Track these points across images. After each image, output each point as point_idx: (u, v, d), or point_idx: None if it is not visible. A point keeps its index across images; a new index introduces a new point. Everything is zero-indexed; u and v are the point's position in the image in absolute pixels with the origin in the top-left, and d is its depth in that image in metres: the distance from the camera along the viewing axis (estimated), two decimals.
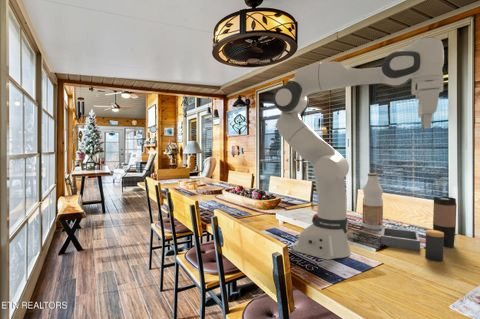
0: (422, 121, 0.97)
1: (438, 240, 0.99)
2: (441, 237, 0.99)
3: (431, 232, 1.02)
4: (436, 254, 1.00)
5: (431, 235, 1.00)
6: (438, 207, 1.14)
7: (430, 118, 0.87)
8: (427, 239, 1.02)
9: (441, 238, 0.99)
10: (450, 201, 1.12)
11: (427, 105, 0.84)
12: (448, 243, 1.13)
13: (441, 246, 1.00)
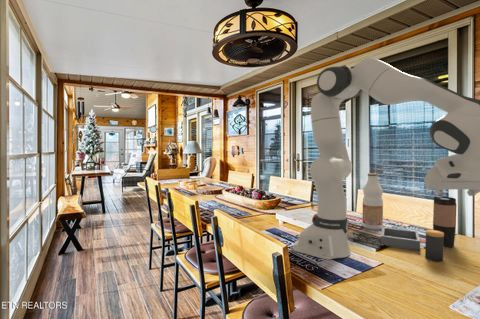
0: None
1: (438, 240, 0.99)
2: (441, 237, 0.99)
3: (431, 232, 1.02)
4: (436, 254, 1.00)
5: (431, 235, 1.00)
6: (438, 207, 1.14)
7: (436, 190, 0.88)
8: (427, 239, 1.02)
9: (441, 238, 0.99)
10: (450, 201, 1.12)
11: (425, 180, 0.87)
12: (448, 243, 1.13)
13: (441, 246, 1.00)
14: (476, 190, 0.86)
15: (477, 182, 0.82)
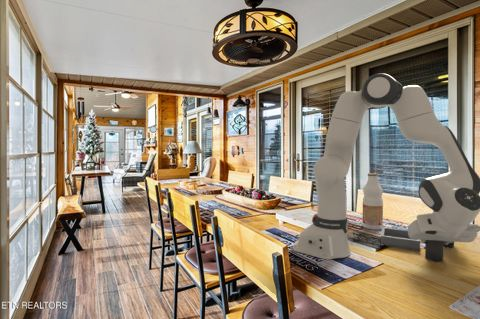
0: None
1: None
2: None
3: None
4: (436, 254, 1.00)
5: None
6: None
7: None
8: None
9: None
10: None
11: (408, 230, 1.00)
12: None
13: (441, 246, 1.00)
14: (448, 241, 1.00)
15: None
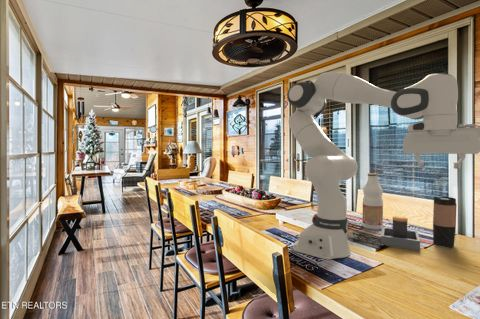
0: (459, 159, 0.86)
1: (405, 224, 1.16)
2: None
3: (398, 218, 1.18)
4: (404, 236, 1.16)
5: (400, 220, 1.16)
6: (438, 207, 1.14)
7: None
8: (396, 224, 1.17)
9: None
10: (450, 201, 1.12)
11: None
12: (448, 243, 1.13)
13: (406, 229, 1.17)
14: (459, 160, 0.85)
15: (450, 142, 0.85)
